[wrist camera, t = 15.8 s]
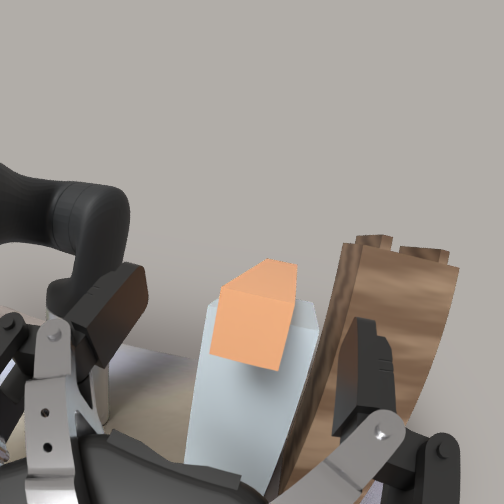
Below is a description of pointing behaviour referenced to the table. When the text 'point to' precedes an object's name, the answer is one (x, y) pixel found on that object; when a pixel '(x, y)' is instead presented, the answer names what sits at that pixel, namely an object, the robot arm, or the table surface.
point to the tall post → (387, 324)
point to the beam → (256, 315)
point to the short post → (248, 403)
